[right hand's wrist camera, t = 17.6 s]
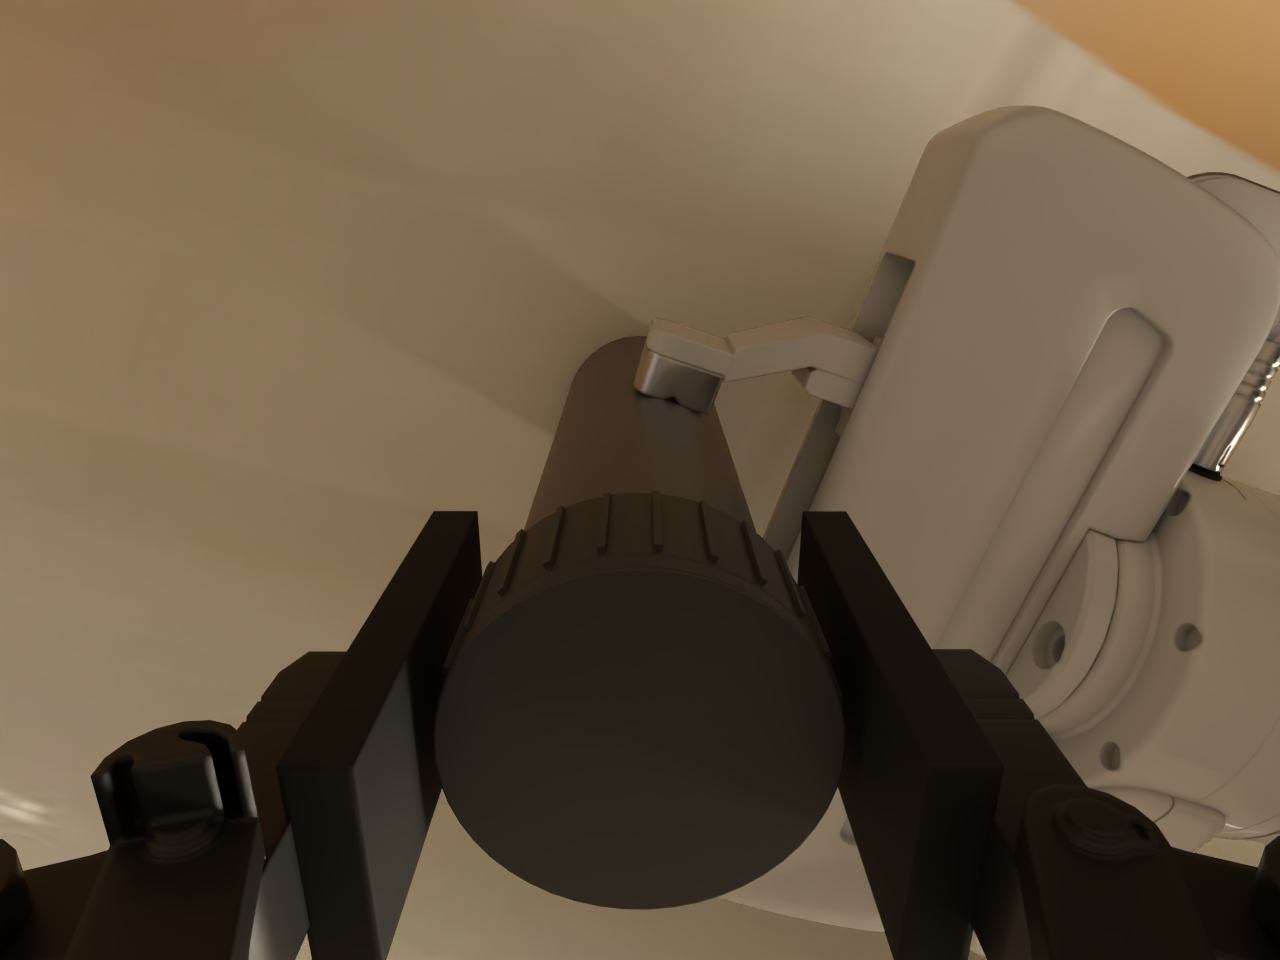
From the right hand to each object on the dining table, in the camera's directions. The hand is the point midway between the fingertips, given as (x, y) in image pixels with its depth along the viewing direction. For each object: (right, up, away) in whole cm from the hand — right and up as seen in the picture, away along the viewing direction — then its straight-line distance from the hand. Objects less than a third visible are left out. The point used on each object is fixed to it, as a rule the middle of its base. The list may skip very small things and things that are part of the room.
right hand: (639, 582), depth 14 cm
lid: (0, -1, -4) cm, 4 cm away
